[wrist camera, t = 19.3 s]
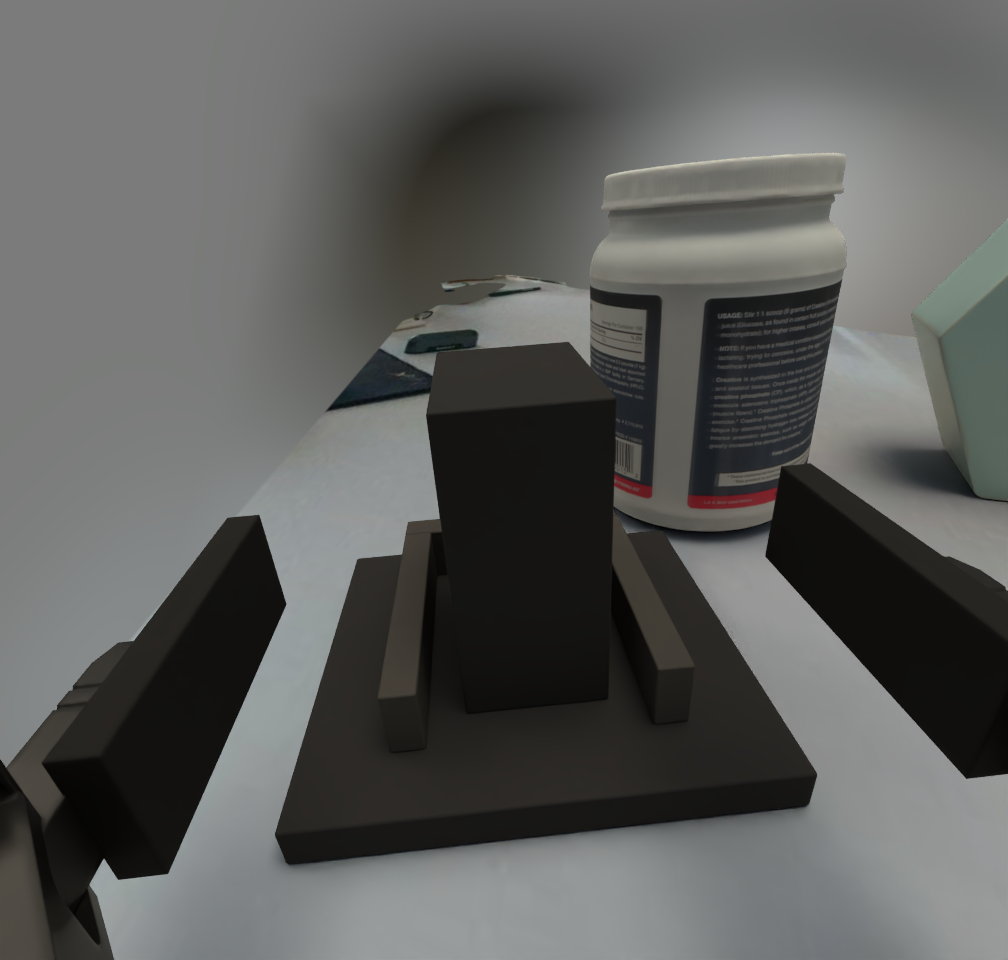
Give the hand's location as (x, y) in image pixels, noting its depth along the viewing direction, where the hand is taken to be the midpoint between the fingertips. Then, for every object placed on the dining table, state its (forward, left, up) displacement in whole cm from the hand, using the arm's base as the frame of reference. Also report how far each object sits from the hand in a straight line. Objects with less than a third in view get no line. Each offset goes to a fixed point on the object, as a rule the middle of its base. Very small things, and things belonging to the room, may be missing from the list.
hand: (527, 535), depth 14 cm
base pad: (-3, +4, -9) cm, 11 cm away
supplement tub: (0, +22, -10) cm, 24 cm away
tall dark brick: (-3, +4, -8) cm, 9 cm away
